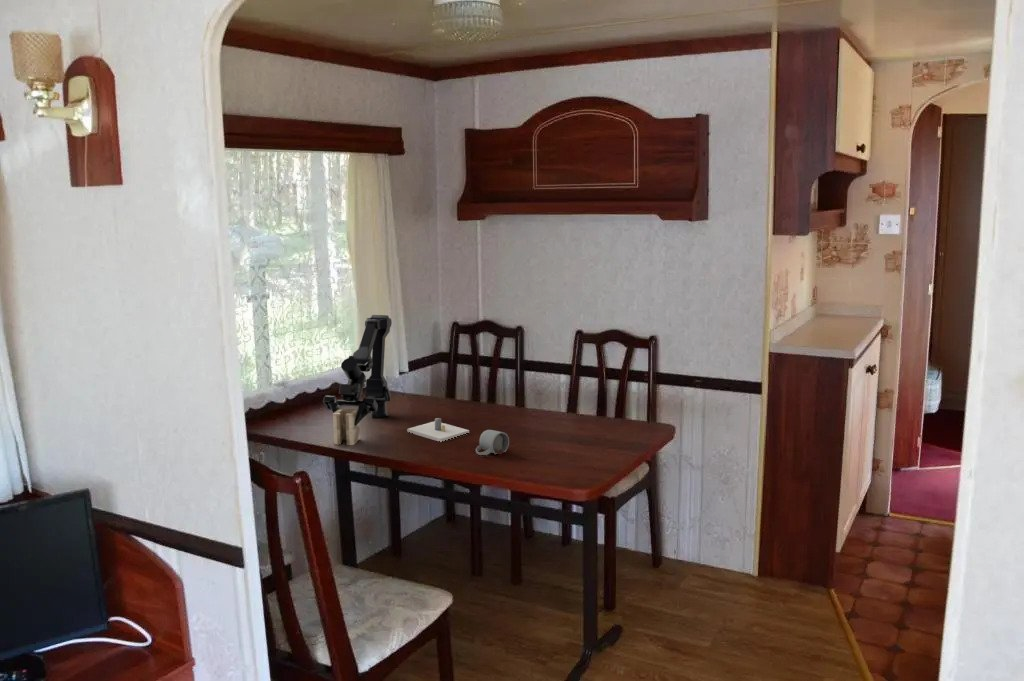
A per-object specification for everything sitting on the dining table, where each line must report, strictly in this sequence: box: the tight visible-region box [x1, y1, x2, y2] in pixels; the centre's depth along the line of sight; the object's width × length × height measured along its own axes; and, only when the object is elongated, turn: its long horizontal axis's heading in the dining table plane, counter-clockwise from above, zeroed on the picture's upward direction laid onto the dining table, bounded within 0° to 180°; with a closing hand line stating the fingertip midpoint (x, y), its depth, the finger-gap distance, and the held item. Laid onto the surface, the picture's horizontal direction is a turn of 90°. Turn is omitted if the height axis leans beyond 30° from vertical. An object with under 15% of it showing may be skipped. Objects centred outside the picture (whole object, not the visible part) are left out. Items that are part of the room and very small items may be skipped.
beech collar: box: [332, 407, 361, 446], centre depth 298 cm, size 7×7×11 cm
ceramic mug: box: [475, 429, 510, 456], centre depth 286 cm, size 11×8×8 cm
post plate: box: [406, 417, 470, 443], centre depth 309 cm, size 18×14×5 cm
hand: (345, 424), depth 296 cm, fingers closed on beech collar, 7 cm apart
